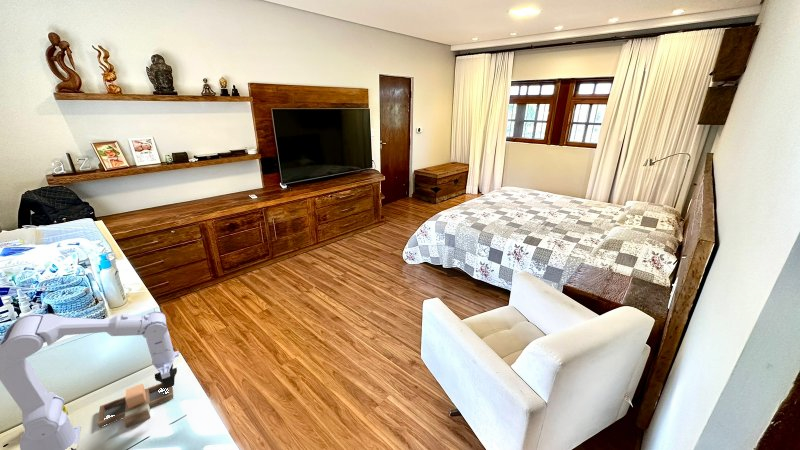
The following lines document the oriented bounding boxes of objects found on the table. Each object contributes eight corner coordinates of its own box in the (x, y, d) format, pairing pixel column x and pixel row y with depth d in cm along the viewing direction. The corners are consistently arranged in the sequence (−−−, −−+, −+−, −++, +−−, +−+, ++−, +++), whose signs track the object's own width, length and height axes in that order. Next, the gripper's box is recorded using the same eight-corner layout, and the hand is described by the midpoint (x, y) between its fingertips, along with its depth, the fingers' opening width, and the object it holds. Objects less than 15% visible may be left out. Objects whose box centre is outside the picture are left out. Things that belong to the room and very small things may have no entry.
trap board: (98, 439, 93) (94, 431, 92) (101, 410, 101) (98, 401, 100) (174, 407, 104) (172, 399, 103) (172, 383, 112) (170, 375, 111)
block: (128, 408, 101) (125, 400, 99) (128, 398, 104) (125, 389, 102) (145, 401, 103) (142, 393, 102) (145, 391, 106) (142, 383, 105)
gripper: (177, 357, 95) (185, 388, 100) (174, 328, 105) (181, 358, 111) (149, 367, 91) (158, 398, 96) (148, 336, 101) (157, 366, 107)
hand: (169, 377), depth 103 cm, fingers open, 7 cm apart
